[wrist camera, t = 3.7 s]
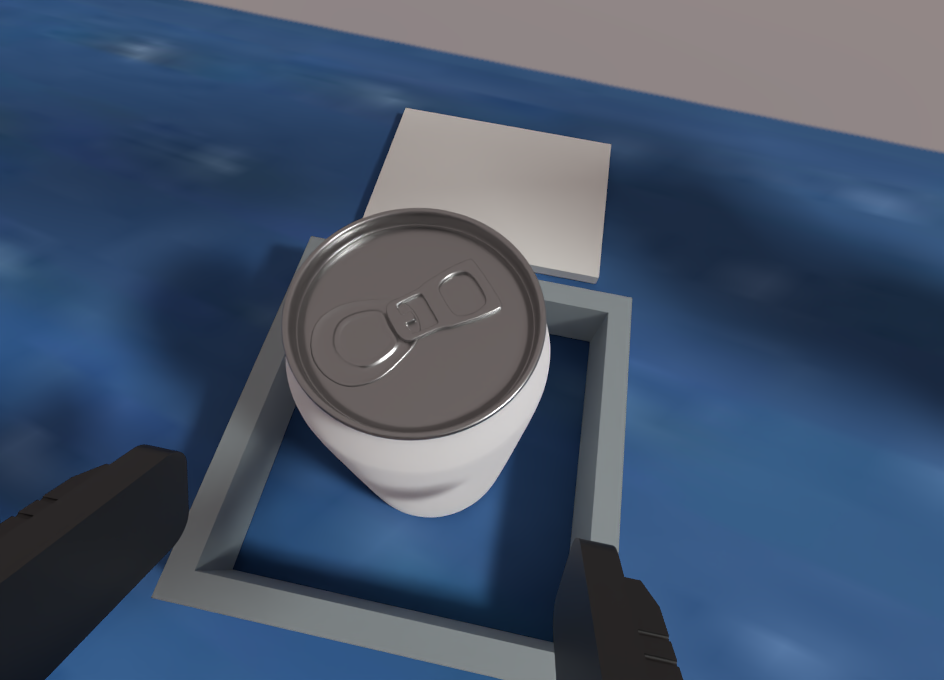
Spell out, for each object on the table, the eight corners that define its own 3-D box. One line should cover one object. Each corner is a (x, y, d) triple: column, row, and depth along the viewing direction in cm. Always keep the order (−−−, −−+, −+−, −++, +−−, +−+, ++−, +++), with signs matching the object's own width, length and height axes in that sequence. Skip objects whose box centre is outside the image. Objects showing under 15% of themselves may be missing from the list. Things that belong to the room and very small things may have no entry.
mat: (608, 152, 29) (611, 144, 28) (595, 283, 25) (598, 277, 24) (406, 116, 30) (405, 107, 29) (359, 238, 25) (357, 231, 25)
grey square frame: (611, 328, 24) (631, 297, 21) (584, 681, 17) (610, 704, 14) (326, 272, 24) (311, 236, 22) (196, 592, 18) (151, 597, 15)
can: (337, 413, 21) (219, 254, 10) (462, 352, 23) (474, 159, 12) (397, 549, 19) (328, 531, 8) (532, 471, 20) (628, 367, 9)
